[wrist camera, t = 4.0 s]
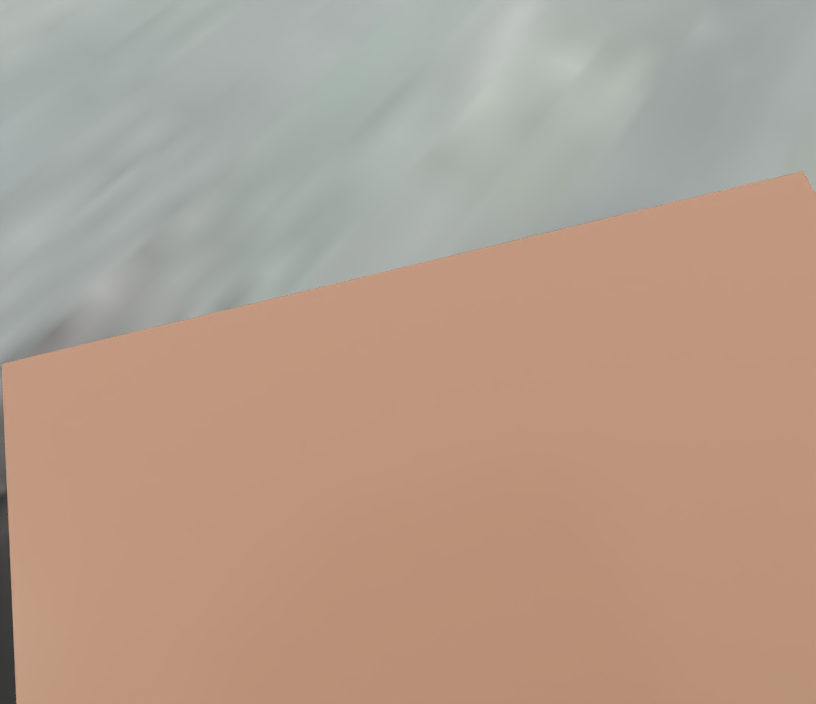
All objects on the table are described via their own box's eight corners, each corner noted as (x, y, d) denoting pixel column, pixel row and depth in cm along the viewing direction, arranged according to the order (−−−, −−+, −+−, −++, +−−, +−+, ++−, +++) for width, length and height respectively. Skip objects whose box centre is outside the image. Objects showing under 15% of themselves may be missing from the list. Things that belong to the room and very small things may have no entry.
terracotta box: (587, 680, 14) (1512, 1458, 2) (370, 744, 14) (75, 2089, 2) (513, 444, 16) (802, 170, 4) (318, 495, 16) (1, 363, 4)
